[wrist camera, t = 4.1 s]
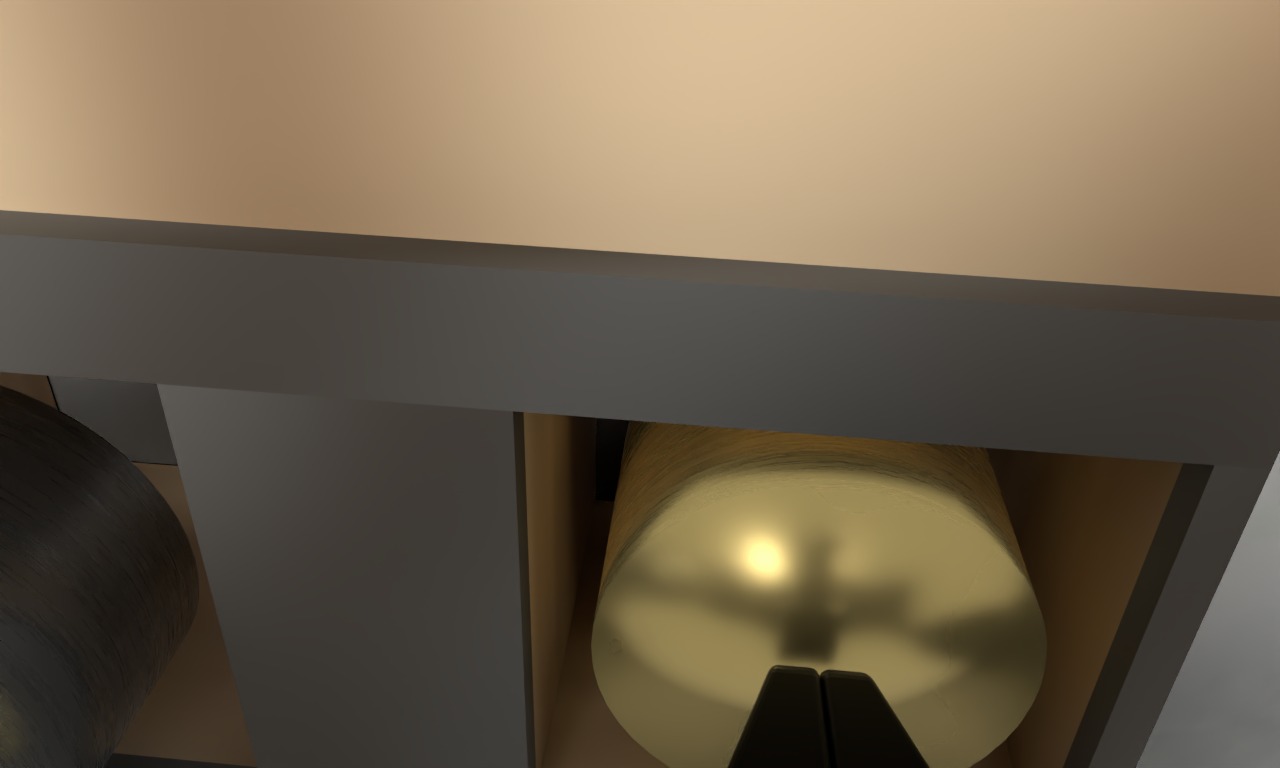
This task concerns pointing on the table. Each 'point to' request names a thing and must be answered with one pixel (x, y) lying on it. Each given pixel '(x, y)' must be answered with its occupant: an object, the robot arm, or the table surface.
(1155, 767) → the table surface
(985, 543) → the brass plunger
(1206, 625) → the table surface
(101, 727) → the steel plunger
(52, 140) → the socket board
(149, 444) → the table surface
